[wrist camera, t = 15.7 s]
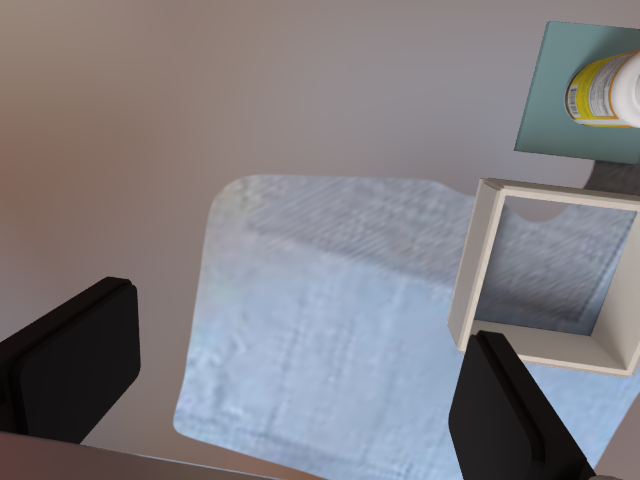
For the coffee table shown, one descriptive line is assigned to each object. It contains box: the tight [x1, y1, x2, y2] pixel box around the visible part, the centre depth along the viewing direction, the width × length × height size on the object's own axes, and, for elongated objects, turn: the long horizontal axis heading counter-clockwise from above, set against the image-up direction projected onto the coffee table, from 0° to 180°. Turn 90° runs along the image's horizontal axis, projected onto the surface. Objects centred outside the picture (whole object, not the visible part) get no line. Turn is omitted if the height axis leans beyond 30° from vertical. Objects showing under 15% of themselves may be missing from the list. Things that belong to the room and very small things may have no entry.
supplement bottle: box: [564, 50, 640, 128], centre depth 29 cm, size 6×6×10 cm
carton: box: [447, 178, 640, 378], centre depth 37 cm, size 17×17×6 cm
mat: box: [514, 21, 640, 165], centre depth 34 cm, size 11×11×1 cm
